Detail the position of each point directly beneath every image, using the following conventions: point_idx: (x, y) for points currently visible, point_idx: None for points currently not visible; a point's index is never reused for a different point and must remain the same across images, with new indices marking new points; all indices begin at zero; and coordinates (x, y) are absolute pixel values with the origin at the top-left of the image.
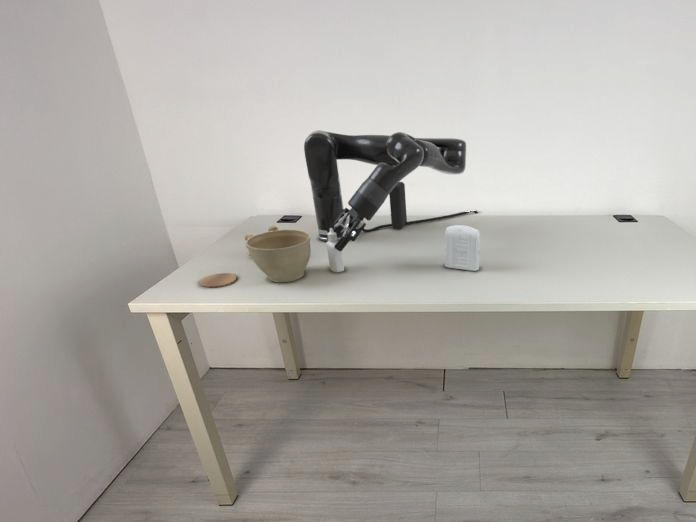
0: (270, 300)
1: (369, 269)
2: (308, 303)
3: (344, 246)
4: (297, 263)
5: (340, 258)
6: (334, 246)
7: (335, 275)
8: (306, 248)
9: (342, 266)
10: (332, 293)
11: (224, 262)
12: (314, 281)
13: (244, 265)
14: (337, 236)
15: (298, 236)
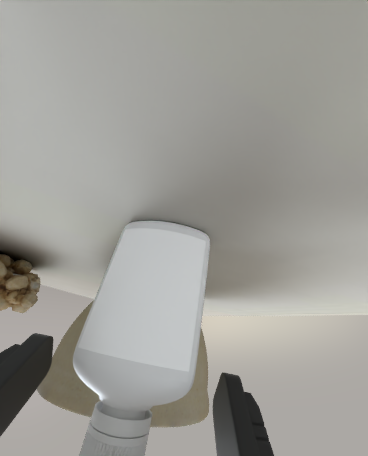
0: (243, 313)
1: (318, 123)
2: (317, 314)
3: (266, 434)
4: (204, 345)
5: (203, 304)
6: (214, 407)
7: (222, 255)
8: None
9: (208, 259)
10: (336, 298)
11: (55, 282)
12: (220, 282)
13: (72, 281)
14: (2, 390)
15: (62, 370)
